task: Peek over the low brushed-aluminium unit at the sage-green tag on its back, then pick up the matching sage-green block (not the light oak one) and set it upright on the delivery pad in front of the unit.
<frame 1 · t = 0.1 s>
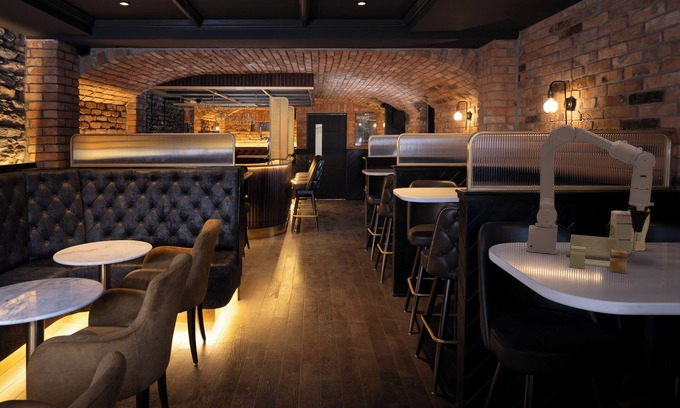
hand: (636, 230, 164), 10 cm above the table, tool pointing down, fingers open, 7 cm apart
sage block: (576, 266, 155), on the table
syrup box: (618, 252, 178), on the table
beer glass: (635, 249, 183), on the table
delivery pad: (593, 263, 159), on the table
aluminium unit: (592, 257, 168), on the table
oak block: (617, 271, 151), on the table
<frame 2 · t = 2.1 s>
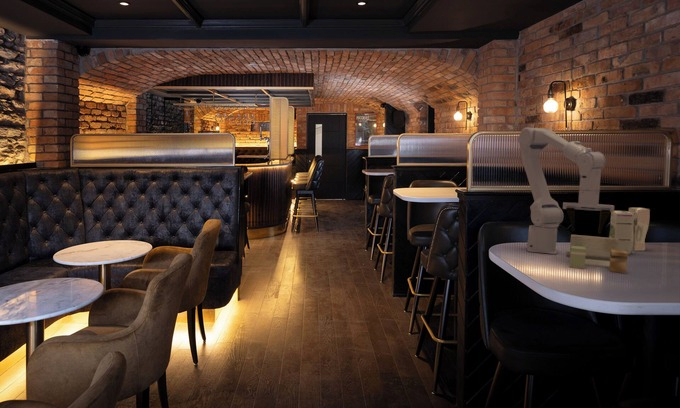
hand: (586, 232, 160), 9 cm above the table, tool pointing down, fingers open, 7 cm apart
nothing on the table moved.
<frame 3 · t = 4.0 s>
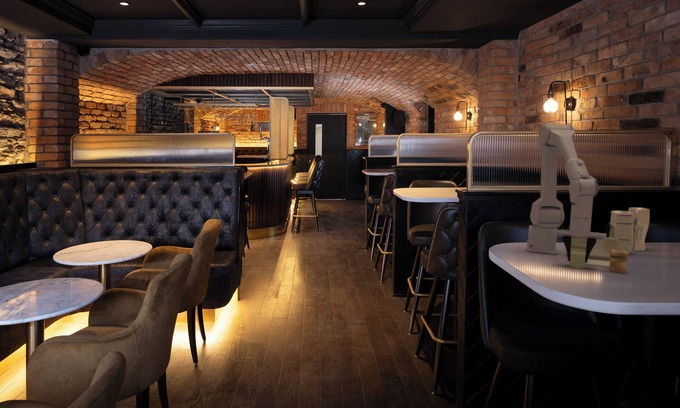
hand: (577, 261, 155), 2 cm above the table, tool pointing down, fingers closed on sage block, 4 cm apart
sage block: (576, 266, 155), on the table, touching gripper
everything else where it was.
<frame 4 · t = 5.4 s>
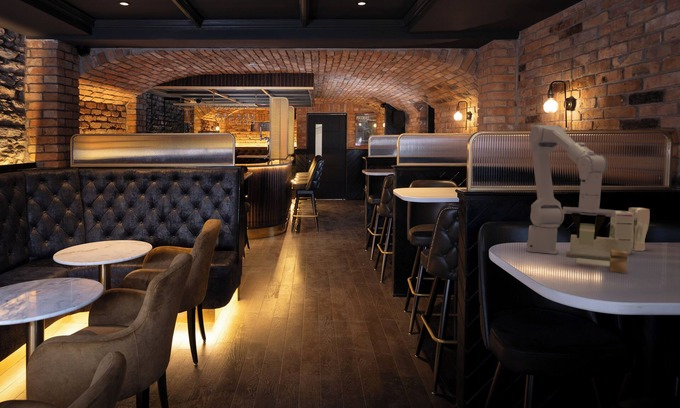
hand: (586, 238, 156), 9 cm above the table, tool pointing down, fingers closed on sage block, 4 cm apart
sage block: (585, 243, 156), point 7 cm above the table, touching gripper
everything else where it was.
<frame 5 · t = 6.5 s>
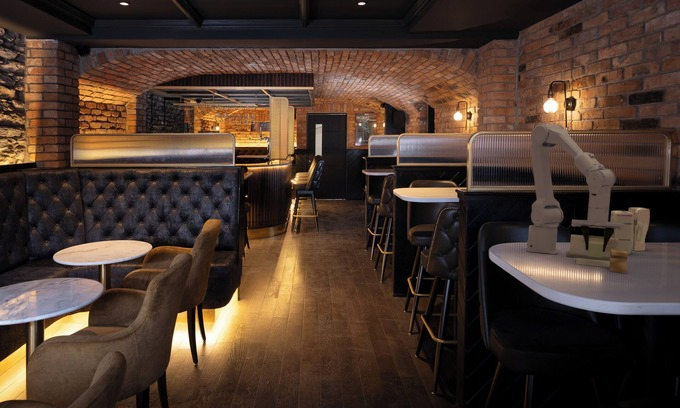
hand: (595, 250, 159), 4 cm above the table, tool pointing down, fingers closed on sage block, 4 cm apart
sage block: (594, 255, 159), point 2 cm above the table, touching gripper
everything else where it was.
when the fingers open (4 cm above the table, at t = 7.0 s): sage block drops 1 cm, resting on delivery pad.
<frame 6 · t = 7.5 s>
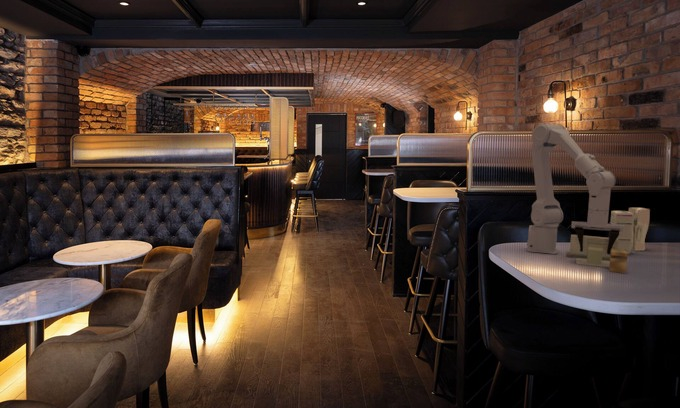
hand: (594, 252, 159), 4 cm above the table, tool pointing down, fingers open, 7 cm apart
sage block: (593, 262, 159), resting on delivery pad
everything else where it was.
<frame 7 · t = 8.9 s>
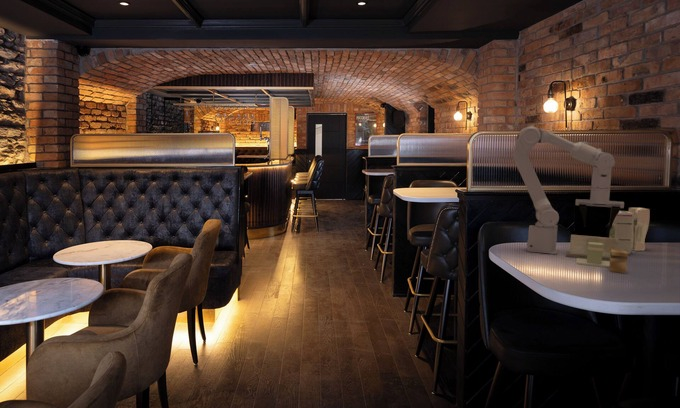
hand: (597, 227, 171), 9 cm above the table, tool pointing down, fingers open, 7 cm apart
nothing on the table moved.
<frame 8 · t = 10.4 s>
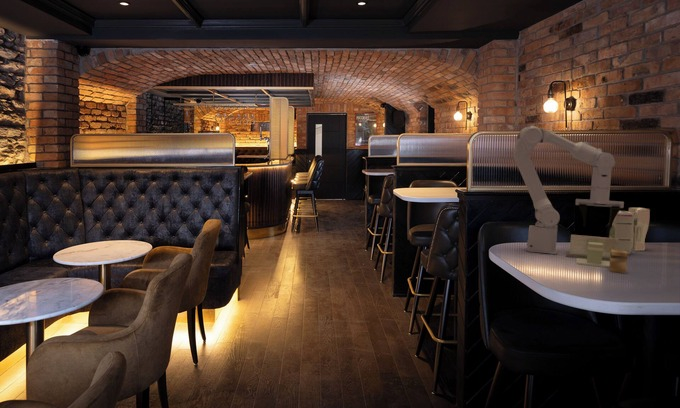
hand: (597, 227, 172), 9 cm above the table, tool pointing down, fingers open, 7 cm apart
nothing on the table moved.
at the end: sage block 0.1 cm off-centre on the delivery pad, point 0.5 cm above the delivery pad's base; sage block tilted 0°; oak block moved 0.1 cm from its start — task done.
